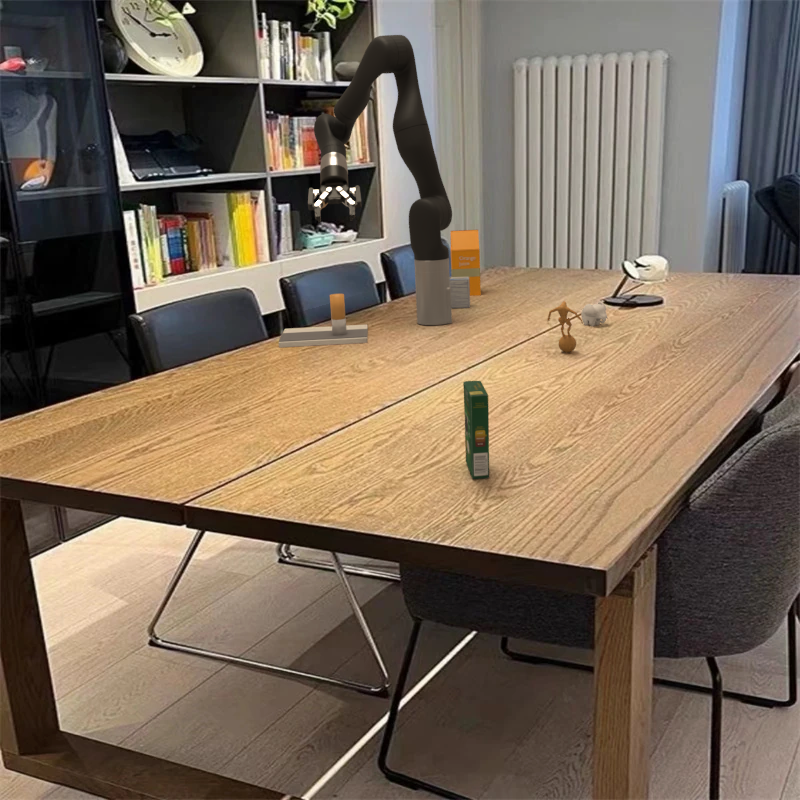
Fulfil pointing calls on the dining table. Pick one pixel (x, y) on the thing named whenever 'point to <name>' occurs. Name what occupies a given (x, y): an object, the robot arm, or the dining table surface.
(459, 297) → the medicine box
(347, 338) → the board
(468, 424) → the coffee box
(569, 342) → the figurine
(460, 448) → the dining table surface
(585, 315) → the elephant figurine
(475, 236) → the orange juice
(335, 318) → the orange and grey block
